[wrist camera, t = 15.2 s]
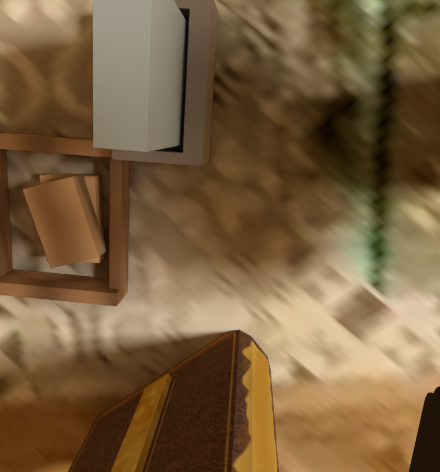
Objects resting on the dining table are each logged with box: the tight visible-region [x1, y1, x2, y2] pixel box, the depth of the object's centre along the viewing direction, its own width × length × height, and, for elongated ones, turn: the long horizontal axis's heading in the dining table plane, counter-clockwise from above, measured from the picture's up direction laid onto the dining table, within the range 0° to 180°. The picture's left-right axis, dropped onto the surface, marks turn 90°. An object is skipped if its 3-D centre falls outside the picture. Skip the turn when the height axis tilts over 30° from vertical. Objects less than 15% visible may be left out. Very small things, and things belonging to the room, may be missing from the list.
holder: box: [112, 0, 218, 166], centre depth 34 cm, size 7×12×5 cm, turn 176°
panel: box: [93, 0, 189, 152], centre depth 28 cm, size 3×9×14 cm, turn 176°
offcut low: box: [40, 173, 105, 263], centre depth 39 cm, size 5×8×2 cm, turn 179°
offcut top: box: [22, 174, 107, 268], centre depth 37 cm, size 5×7×2 cm, turn 14°
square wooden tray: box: [0, 132, 130, 306], centre depth 38 cm, size 13×14×4 cm
